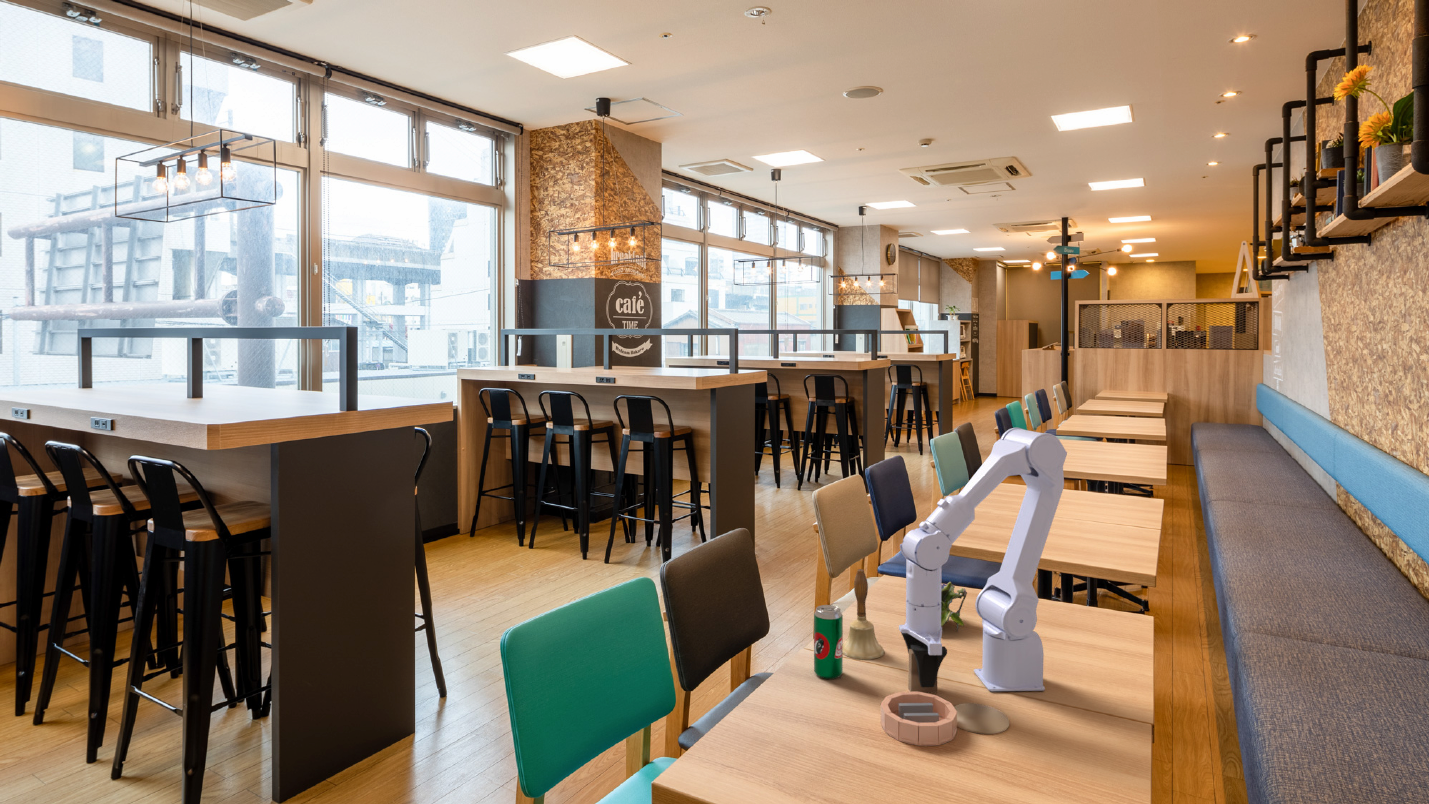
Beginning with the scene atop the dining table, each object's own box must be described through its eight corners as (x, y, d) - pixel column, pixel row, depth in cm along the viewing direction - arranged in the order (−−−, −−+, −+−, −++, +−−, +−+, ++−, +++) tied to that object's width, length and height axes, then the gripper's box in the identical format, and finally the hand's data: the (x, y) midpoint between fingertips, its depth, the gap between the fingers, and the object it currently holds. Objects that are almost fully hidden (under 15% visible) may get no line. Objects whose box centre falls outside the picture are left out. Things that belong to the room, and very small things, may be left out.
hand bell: (856, 663, 141) (856, 579, 140) (831, 647, 149) (831, 566, 148) (892, 655, 145) (893, 572, 143) (867, 639, 152) (867, 561, 151)
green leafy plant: (929, 645, 163) (941, 591, 168) (974, 651, 154) (985, 594, 159) (897, 625, 157) (911, 570, 162) (942, 630, 149) (955, 572, 154)
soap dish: (943, 708, 124) (943, 690, 123) (966, 745, 112) (966, 725, 112) (874, 709, 123) (874, 691, 123) (890, 746, 112) (890, 726, 112)
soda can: (842, 681, 134) (842, 614, 133) (813, 679, 135) (812, 613, 134) (843, 669, 139) (843, 604, 138) (815, 667, 140) (814, 603, 139)
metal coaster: (996, 705, 124) (996, 702, 124) (1018, 733, 115) (1018, 731, 115) (941, 706, 124) (941, 703, 124) (959, 734, 115) (959, 732, 115)
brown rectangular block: (934, 688, 131) (934, 648, 130) (937, 693, 129) (937, 653, 128) (908, 688, 131) (908, 649, 130) (911, 693, 129) (911, 653, 128)
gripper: (889, 587, 136) (889, 661, 137) (911, 617, 121) (910, 699, 122) (929, 587, 136) (928, 661, 137) (955, 616, 121) (954, 699, 123)
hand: (922, 679), depth 130 cm, fingers open, 5 cm apart
